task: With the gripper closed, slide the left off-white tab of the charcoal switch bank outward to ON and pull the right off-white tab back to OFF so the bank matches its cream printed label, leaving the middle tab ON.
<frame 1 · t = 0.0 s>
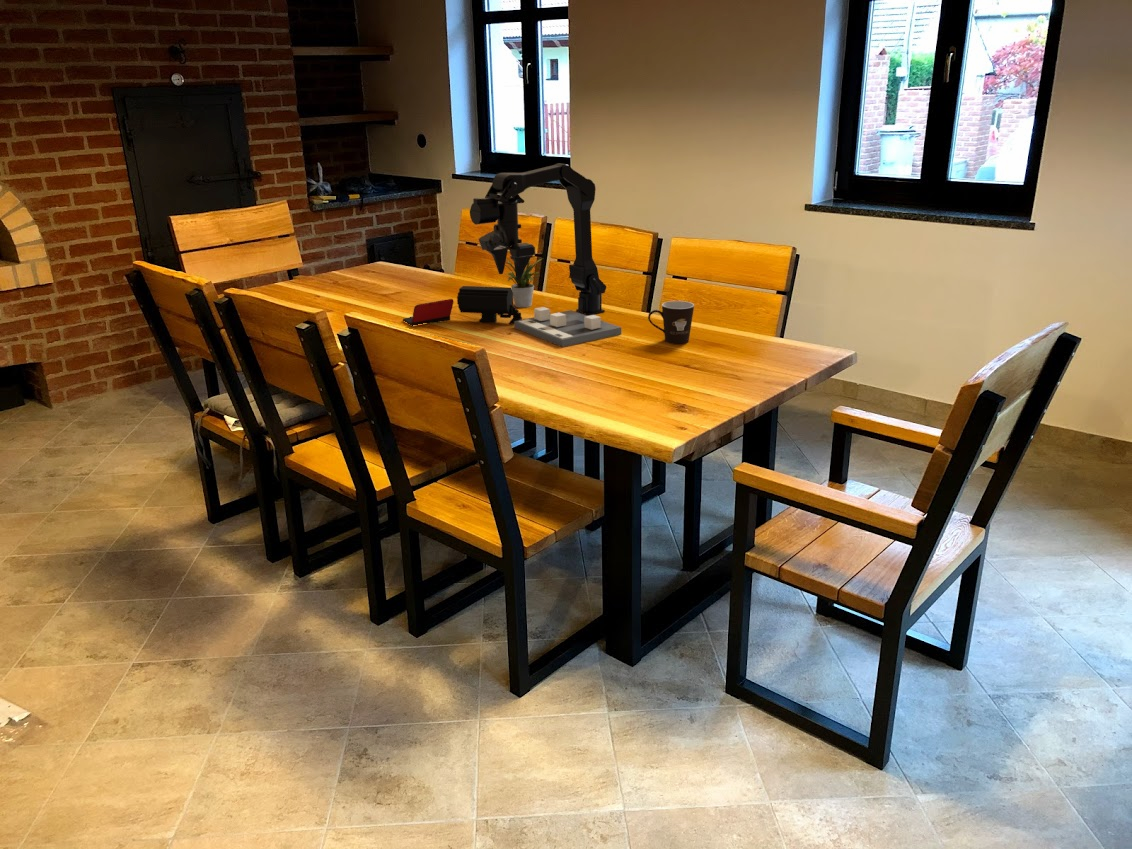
hand: (509, 276, 255), 15 cm above the table, fingers open, 9 cm apart
house plant: (518, 306, 284), on the table
switch bank: (567, 331, 256), on the table
security camera: (490, 322, 267), on the table
tab 1: (592, 322, 250), point 4 cm above the table, slide at 0.0 cm
handheld game console: (428, 323, 267), on the table
tab 3: (542, 313, 259), point 4 cm above the table, slide at 6.0 cm
tab 2: (558, 319, 253), point 4 cm above the table, slide at 6.0 cm
coffee mug: (671, 341, 246), on the table
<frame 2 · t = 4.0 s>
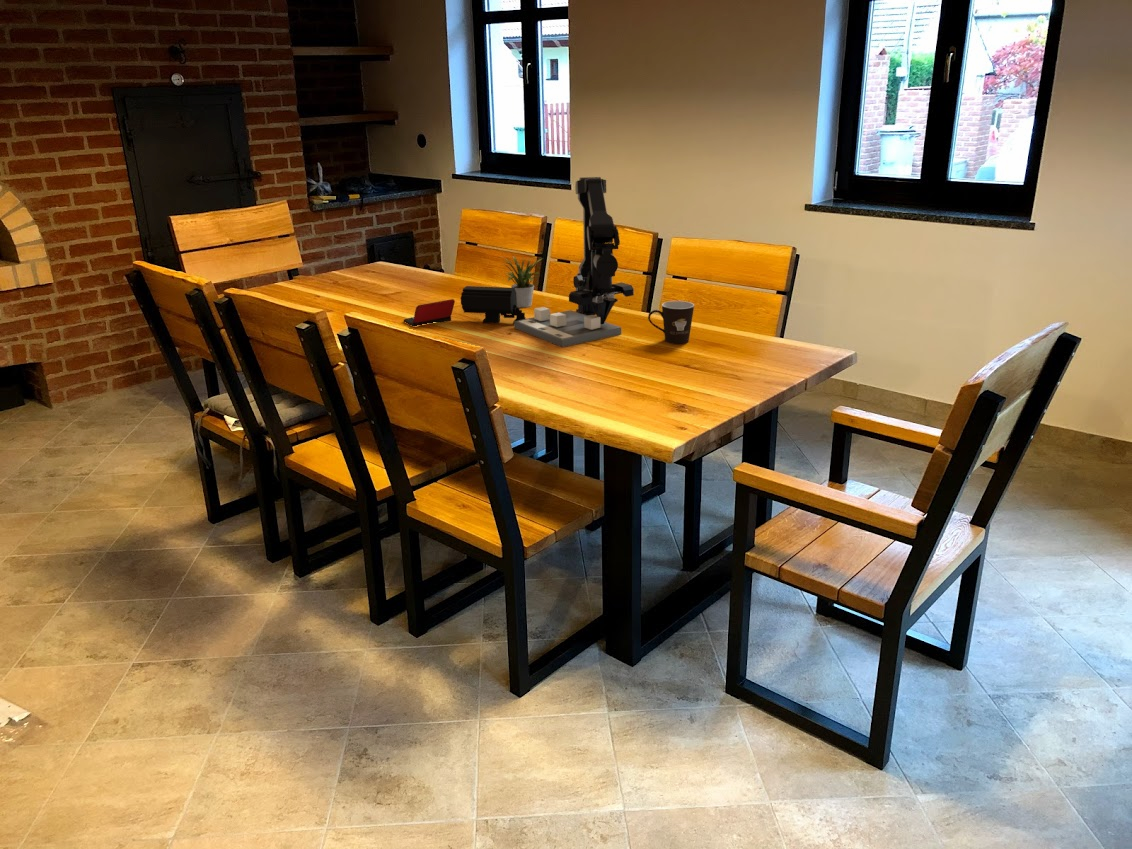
hand: (601, 324, 252), 3 cm above the table, fingers closed
security camera: (494, 322, 266), on the table
tab 1: (592, 322, 250), point 4 cm above the table, slide at 0.1 cm, touching gripper
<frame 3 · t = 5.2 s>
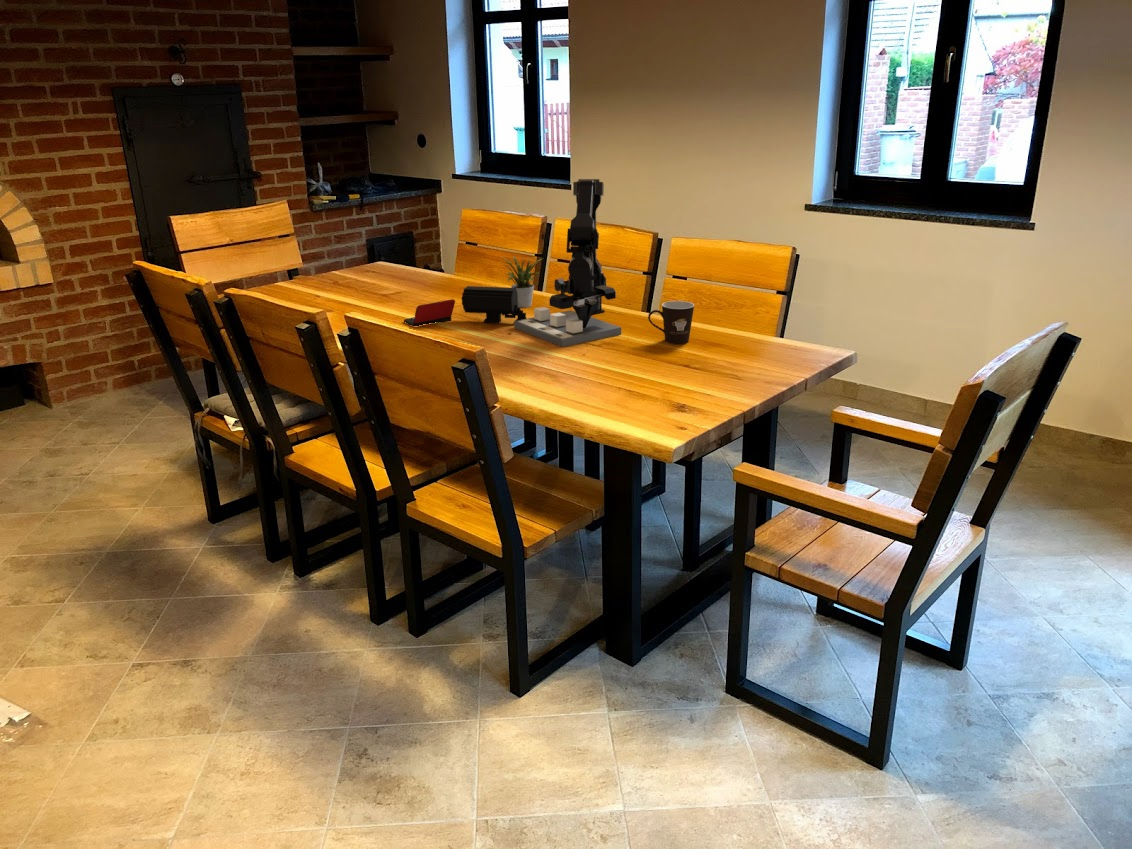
hand: (583, 327, 249), 3 cm above the table, fingers closed
tab 1: (574, 325, 247), point 4 cm above the table, slide at 6.2 cm, touching gripper
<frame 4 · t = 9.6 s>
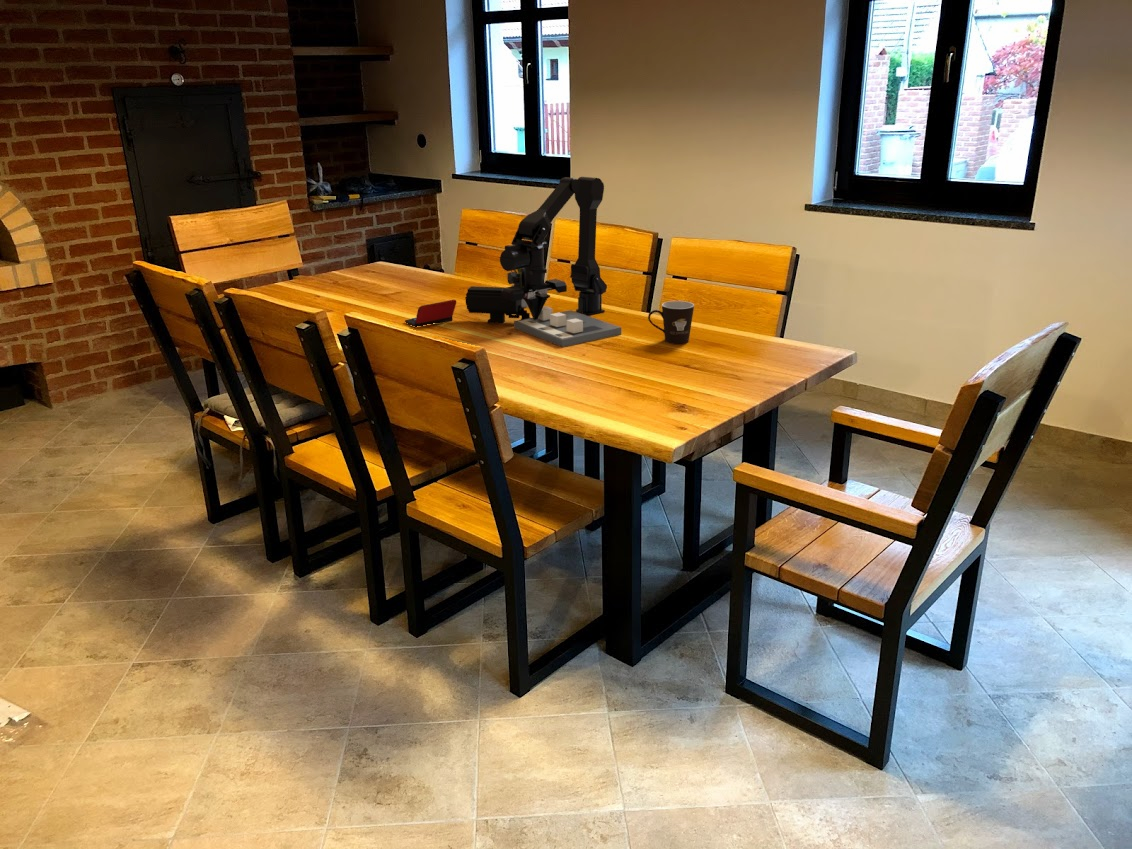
hand: (535, 319, 259), 3 cm above the table, fingers closed
security camera: (499, 323, 266), on the table
tab 1: (574, 325, 247), point 4 cm above the table, slide at 6.1 cm
tab 3: (544, 313, 260), point 4 cm above the table, slide at 5.0 cm, touching gripper
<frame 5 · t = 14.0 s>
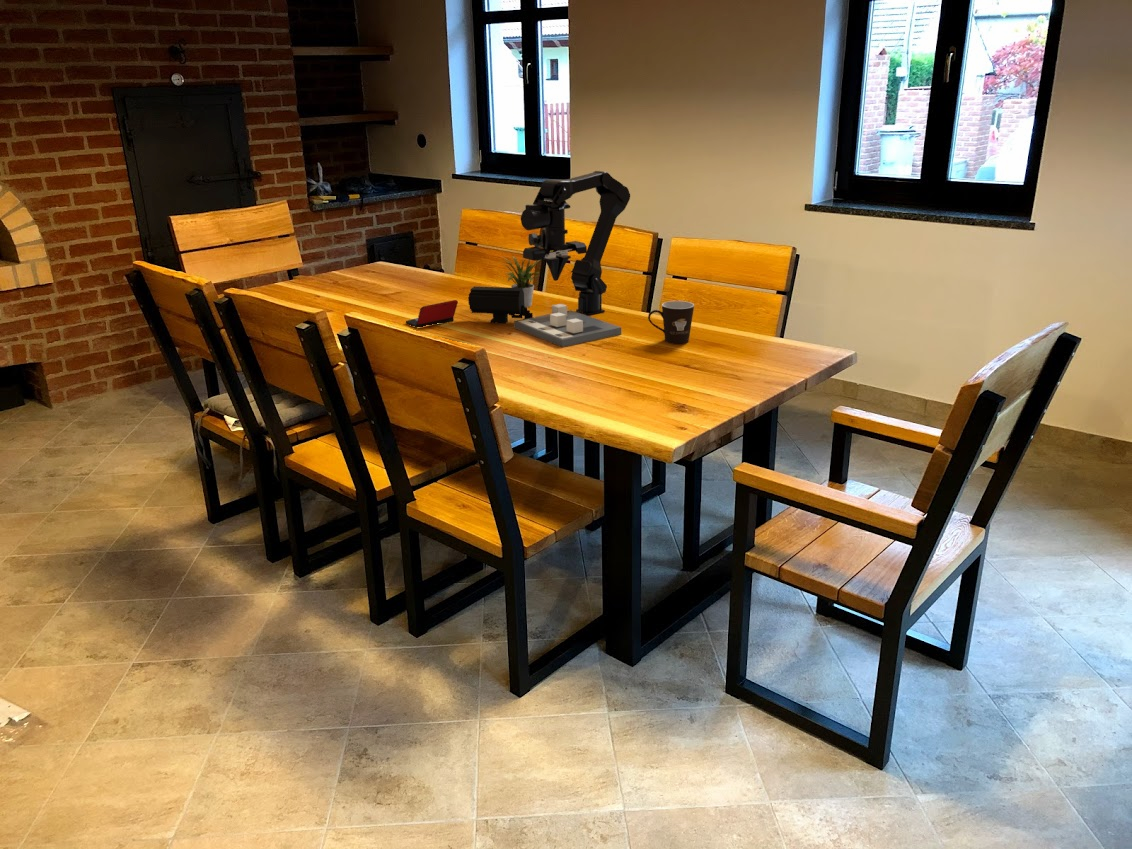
hand: (555, 280, 262), 12 cm above the table, fingers closed
tab 3: (559, 310, 263), point 4 cm above the table, slide at -0.1 cm
at the end: tab 1 slide at 6.1 cm; tab 3 slide at -0.1 cm; tab 2 slide at 6.0 cm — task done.
